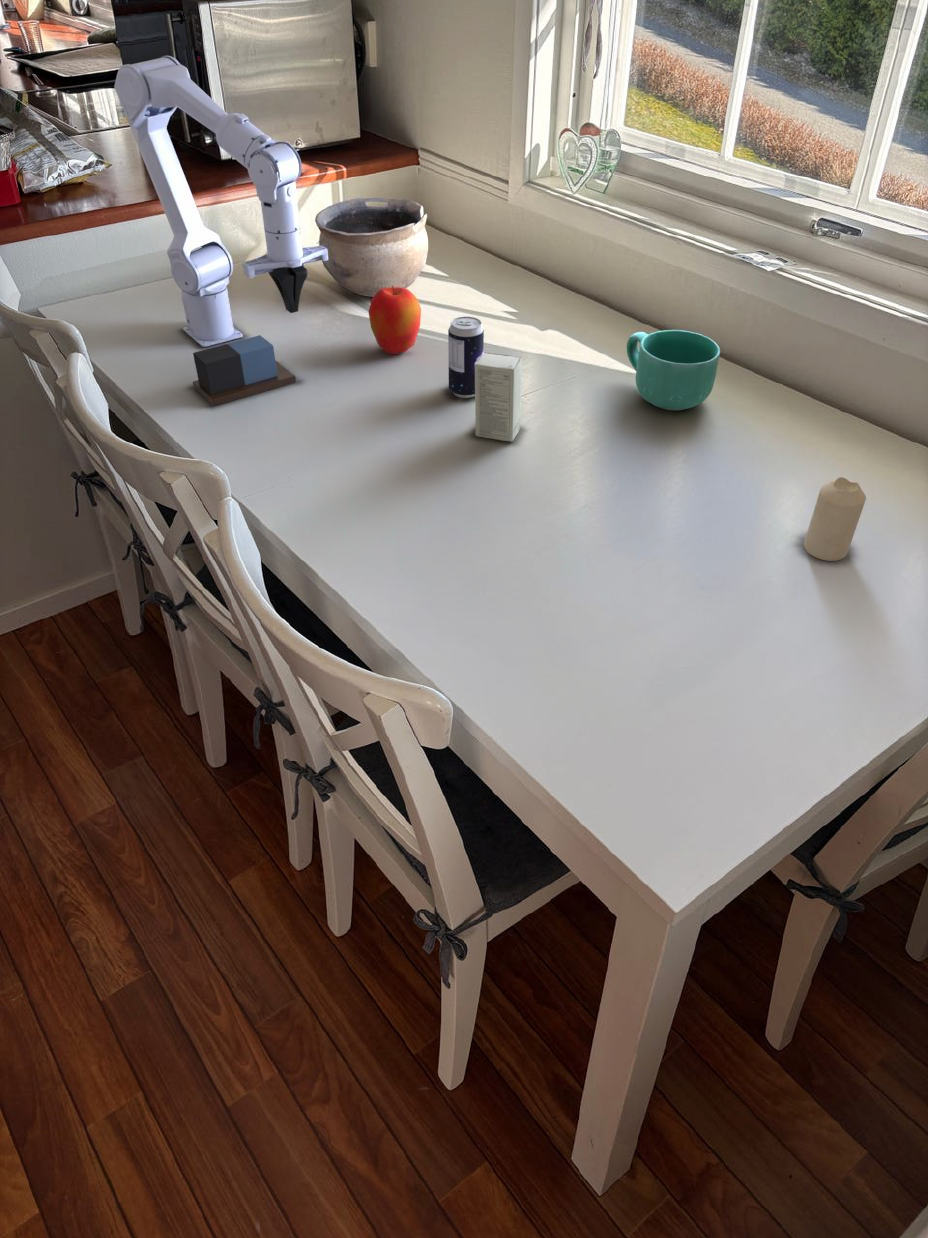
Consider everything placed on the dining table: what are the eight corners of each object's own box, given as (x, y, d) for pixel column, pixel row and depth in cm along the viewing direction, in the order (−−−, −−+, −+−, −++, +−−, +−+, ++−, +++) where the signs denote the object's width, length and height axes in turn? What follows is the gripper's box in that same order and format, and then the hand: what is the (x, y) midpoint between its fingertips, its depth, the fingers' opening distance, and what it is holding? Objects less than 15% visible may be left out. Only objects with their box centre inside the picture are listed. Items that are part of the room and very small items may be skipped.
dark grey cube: (198, 383, 153) (192, 352, 150) (232, 374, 156) (226, 343, 152) (211, 395, 150) (205, 363, 147) (245, 385, 153) (239, 354, 149)
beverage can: (479, 401, 151) (480, 331, 144) (445, 398, 152) (444, 328, 144) (485, 385, 156) (487, 316, 148) (452, 382, 156) (452, 313, 149)
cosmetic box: (520, 429, 144) (523, 356, 136) (512, 443, 141) (515, 369, 133) (482, 423, 146) (483, 350, 138) (473, 436, 143) (474, 362, 135)
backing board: (193, 387, 155) (192, 381, 154) (274, 365, 161) (273, 358, 161) (213, 406, 150) (212, 399, 149) (295, 382, 156) (295, 375, 156)
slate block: (245, 385, 153) (239, 354, 149) (232, 374, 156) (226, 343, 152) (277, 376, 155) (273, 345, 152) (264, 365, 159) (260, 334, 155)
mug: (726, 406, 150) (737, 351, 144) (669, 426, 145) (678, 370, 139) (657, 368, 161) (664, 315, 155) (601, 386, 156) (607, 332, 149)
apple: (391, 367, 161) (388, 299, 153) (360, 350, 166) (355, 283, 158) (432, 351, 166) (431, 285, 158) (401, 336, 171) (398, 270, 163)
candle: (797, 537, 123) (816, 472, 116) (837, 535, 123) (858, 471, 117) (812, 562, 119) (833, 496, 112) (854, 560, 119) (877, 495, 112)
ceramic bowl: (426, 311, 179) (424, 231, 169) (315, 310, 179) (306, 231, 170) (431, 270, 196) (429, 195, 186) (329, 269, 196) (322, 194, 186)
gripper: (251, 243, 142) (263, 328, 151) (334, 226, 149) (340, 308, 158) (232, 230, 147) (245, 313, 156) (313, 214, 153) (321, 295, 162)
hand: (292, 310), depth 157 cm, fingers closed
